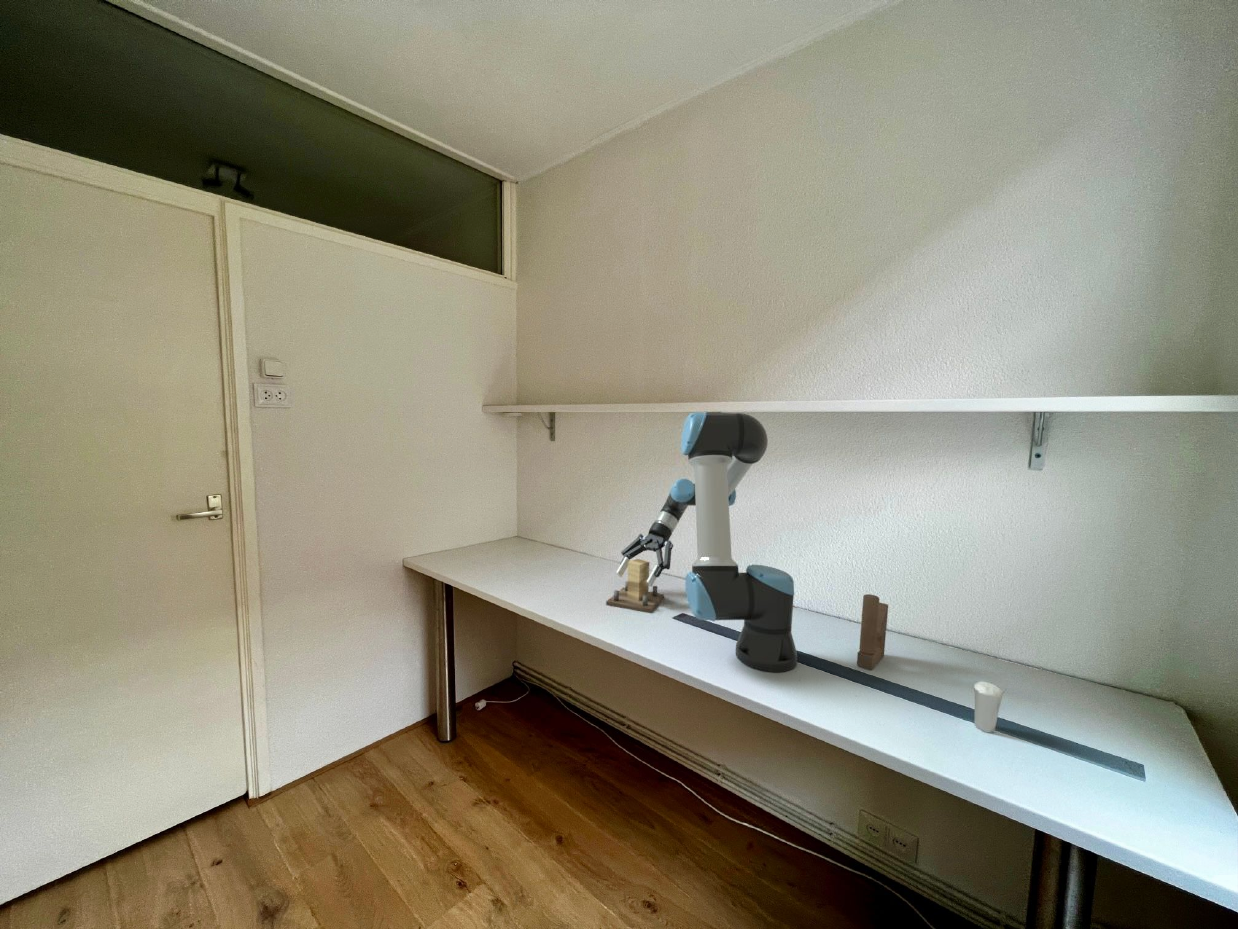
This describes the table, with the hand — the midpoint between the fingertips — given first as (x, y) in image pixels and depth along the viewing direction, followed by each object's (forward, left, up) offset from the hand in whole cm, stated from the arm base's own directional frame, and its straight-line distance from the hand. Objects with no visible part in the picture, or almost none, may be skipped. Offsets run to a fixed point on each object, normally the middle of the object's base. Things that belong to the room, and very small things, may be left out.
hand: (633, 579), depth 161 cm
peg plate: (+1, -1, -8) cm, 8 cm away
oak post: (+2, -1, -7) cm, 7 cm away
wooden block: (-11, -70, -8) cm, 71 cm away
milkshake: (-33, -89, -8) cm, 95 cm away
